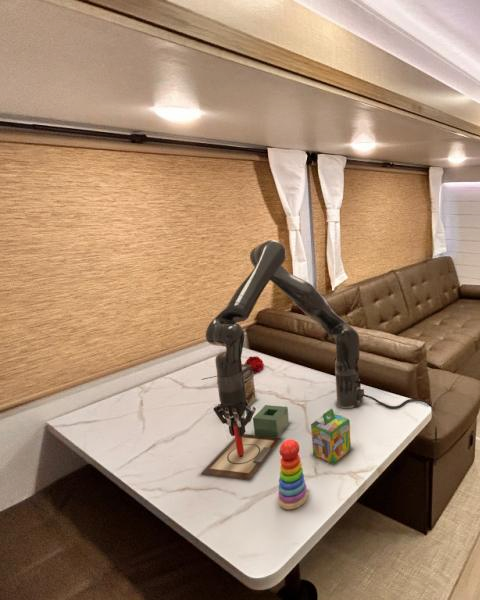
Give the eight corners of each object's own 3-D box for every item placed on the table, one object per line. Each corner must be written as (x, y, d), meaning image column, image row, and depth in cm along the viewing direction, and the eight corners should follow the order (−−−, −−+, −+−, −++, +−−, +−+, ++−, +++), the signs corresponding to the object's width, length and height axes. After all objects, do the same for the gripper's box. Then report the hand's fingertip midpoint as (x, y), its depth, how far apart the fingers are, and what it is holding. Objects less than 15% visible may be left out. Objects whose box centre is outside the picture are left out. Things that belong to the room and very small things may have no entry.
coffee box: (243, 411, 147) (239, 374, 143) (229, 410, 149) (224, 373, 144) (256, 400, 156) (252, 364, 152) (243, 398, 157) (238, 363, 153)
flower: (204, 366, 161) (265, 350, 185) (195, 371, 167) (256, 355, 190) (209, 387, 160) (271, 368, 184) (201, 391, 166) (261, 372, 189)
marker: (246, 454, 121) (240, 419, 117) (242, 458, 119) (236, 423, 115) (240, 453, 121) (234, 418, 118) (236, 457, 119) (230, 422, 116)
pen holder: (289, 423, 139) (287, 406, 137) (277, 437, 131) (276, 420, 129) (267, 421, 141) (265, 404, 139) (254, 435, 132) (252, 418, 130)
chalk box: (333, 465, 117) (330, 423, 113) (312, 455, 122) (309, 415, 118) (352, 449, 124) (350, 409, 121) (331, 440, 129) (329, 402, 125)
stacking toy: (274, 511, 100) (267, 450, 95) (283, 488, 107) (277, 431, 103) (304, 510, 100) (298, 450, 95) (310, 488, 107) (306, 431, 103)
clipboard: (281, 439, 130) (281, 436, 130) (250, 480, 111) (249, 476, 111) (239, 435, 132) (238, 431, 132) (201, 474, 113) (200, 470, 113)
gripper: (202, 389, 111) (210, 440, 115) (245, 393, 109) (251, 444, 113) (218, 378, 118) (225, 426, 123) (259, 381, 116) (264, 430, 120)
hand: (237, 434), depth 118 cm, fingers closed on marker, 2 cm apart
